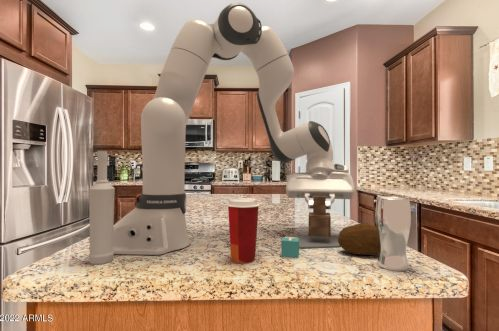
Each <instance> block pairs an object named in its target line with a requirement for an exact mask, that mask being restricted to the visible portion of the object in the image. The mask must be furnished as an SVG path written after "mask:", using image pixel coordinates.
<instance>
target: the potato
mask: <svg viewBox="0 0 499 331" xmlns="http://www.w3.org/2000/svg"><path fill="white" fill-rule="evenodd" d="M337 236H338V243H339V245H340V246H341V247H340V248H341V249H342V250H344V251H345V252H348V253H350V254H354V255H367V256H368V255H369V256H375V255H379V250H380V247H379V239H378V234H377V228H376V225H373V224H370V223H367V222H360V223H356V224H353V225H348V226H346V227H343V228H342V229H341V230H340V231H339V234H338V235H337Z"/></svg>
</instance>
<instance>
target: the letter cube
mask: <svg viewBox="0 0 499 331" xmlns="http://www.w3.org/2000/svg"><path fill="white" fill-rule="evenodd" d="M280 242H281V244H280V246H281V251H280V252H281V253H280V254H281V255H280V256H281V258H289V257H294V258H293V259H299V256H300V249H299V238H294V237H288V236H282V239H281V241H280Z"/></svg>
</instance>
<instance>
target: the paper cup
mask: <svg viewBox="0 0 499 331" xmlns="http://www.w3.org/2000/svg"><path fill="white" fill-rule="evenodd" d="M259 206H261V205H260V203H259V200H258V199H257V198H248V197H239V198H238V197H237V198H235V197H234V198H229V200H227V204H226V207H228V209H227V210H228V212H227V213H228V227H229V228H228V229H229V230H228V231H229V233H228V234H229V248H230V250H229V251H230V260H231V262H233V263H236V264H249V263H252V262H255V260H256V251H257V250H256V249H257V234H258V233H257V232H258V220H259Z"/></svg>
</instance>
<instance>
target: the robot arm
mask: <svg viewBox="0 0 499 331" xmlns="http://www.w3.org/2000/svg"><path fill="white" fill-rule="evenodd" d="M240 53H242V54H243V55H245V56H246V58H248V59H249V61H250V62H251V64H252V66H253V68H254V70H255V72H256V75H257V78H258V84H259V86H258V87H259V88H258V90H257V92H256V99H257V104H258V107H259V108H258V109H259V112H260V114H261V118H262V121H263V124H264V127H265V128H264V129H265V131H266V134H267V139H268V142H269V148H270V153H271V154H272V157H273V158H274V159H275V160H276V161H278V162H281V163H283V164H289V163H290V162H292V161H294V160H296V159H298V158H301V157H304V156H306V157H305V158H306V164H305V171H304V172H295V171H294V172H291V173H288V174H287V175H286V179H285V180H286V186H285V194H286V196H287V197H288V198H292V199H304V201H305V203H306V204H307V206H308V207H307V209H310V210H313V200H311V199H313V196H326V210H332V205H333V203H334V202H335V200H352V199H354V198H355V195H356V186H355V182H354V179H353V177H352V175H351V174H350V171H349V170H350V169H349V167H348V166H347V165H344V164H340V163H336V162H333V160H334V150H333V145H332V142H331V139H330V136H329V134H328V132H327V130H326V129H325V127H324V126H323V125H321V123H318V122H316V121H313V120H311V121H306V122H303V123H302V124H299V125H298V126H296V127H294V128H291V129H289V130H287V131H283V130H282V128H281V125H280V121H279V117H278V114H277V111H276V104H277V102H278V100H279V99H280V97H281V96H282V95H283V94H284V93H285V92H286V90H287V89H288V88H289V87H290V85H291V83H292V81H293V79H294V75H295V68H294V65H293V62H292V60H291V57H290V55H289V53H288V51H287V49H286V47H285V45H284V43H283V42H282V40H281V39H280V37H279V35H278V34H277V33H276V31H275V30H274V29H273V27H270V26H268V25H262V22H261V20H260V19H259V18H258V17H257V16H256V14H255V12H254V11H253V10H252V9H251V8H250V7H249V6H247V5H245V4H244V3H242V2H233V3H230V4H227V6H225V7H224V8H223V9H222V10H221V11H220V13H219V15H218V16H217V18H216V20H215V21H214V22H213V23H207V22H205V21H204V20H200V19H196V18H195V19H190V20H188V21H186V22H185V23H184V25H182V27H181V29H180V30H179V32H178V34H177V36H176V37H175V39H174V41H173V43H172V46H171V48H170V51H169V53H168V55H167V58H166V60H165V62H164V66H163V68H162V71H161V73H160V75H159V80H158V83H157V87H156V90H155V93H154V95H153V96H154V97H153V98H152V99H151V100H150V101H148V102H147V103H146V104H145V106H144V107H143V108H142V111H141V115H140V128H141V129H140V130H141V131H140V132H141V138H140V139H141V157H142V193H139V194H137V195H136V196H135V197H134V198H133V200H134V201H133V203H134V207H135V208H133V209H132V210H131V211H129V212H128V213H127V214H125V216H123V217H122V218H121V219H119V220H118V221H117V222H116V223H115V224H114V225H113V251H114V255H138V256H140V255H142V256H143V255H144V256H145V255H146V256H151V255H152V256H153V255H155V256H159V255H163V254H164V255H165V254H167V253H169V252H174V251H177V250H180V249H184V248H186V247H189V246H190V245H191V240H190V238H189V234H188V229H187V221H186V212H187V193H185V176H186V175H185V170H186V168H185V165H186V164H185V163H186V162H185V161H186V137H187V136H186V130H187V128H186V127H187V124H188V122H189V118H190V115H191V113H192V111H193V107H194V106H195V102H196V101H197V97H198V94H199V91H200V89H201V87H202V84H203V81H204V79H205V76H206V74H207V71H208V67H209V66H210V62H211V61H212V58H214V59H217V60H221V61H230V60H233V59H235V58H236V57H238V56H239V54H240ZM327 200H328V201H327Z"/></svg>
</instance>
